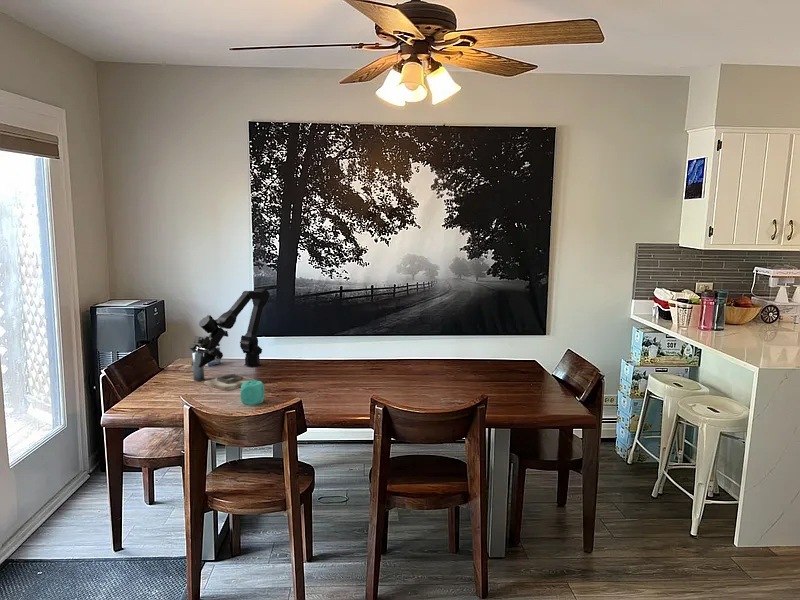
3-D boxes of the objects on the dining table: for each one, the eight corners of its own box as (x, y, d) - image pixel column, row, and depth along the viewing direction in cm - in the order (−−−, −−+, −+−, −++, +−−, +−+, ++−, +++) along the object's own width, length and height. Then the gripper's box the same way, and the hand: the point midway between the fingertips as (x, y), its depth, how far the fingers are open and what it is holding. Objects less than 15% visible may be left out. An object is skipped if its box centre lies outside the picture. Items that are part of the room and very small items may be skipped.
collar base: (234, 376, 281) (234, 370, 281) (255, 382, 271) (255, 376, 271) (204, 384, 269) (204, 378, 269) (225, 390, 259) (225, 384, 259)
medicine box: (207, 366, 300) (206, 350, 299) (202, 365, 303) (201, 348, 302) (221, 363, 307) (220, 347, 305) (215, 362, 309) (214, 346, 308)
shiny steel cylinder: (200, 377, 280) (199, 350, 279) (206, 379, 277) (205, 352, 276) (191, 379, 277) (190, 352, 275) (197, 381, 274) (195, 354, 272)
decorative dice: (264, 398, 248) (263, 380, 247) (261, 405, 240) (260, 385, 239) (245, 399, 248) (244, 380, 246) (241, 405, 240) (240, 386, 238)
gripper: (191, 326, 282) (171, 354, 275) (216, 331, 272) (197, 359, 264) (205, 340, 290) (187, 367, 282) (231, 344, 279) (212, 373, 272)
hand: (195, 366), depth 275 cm, fingers closed on shiny steel cylinder, 5 cm apart
